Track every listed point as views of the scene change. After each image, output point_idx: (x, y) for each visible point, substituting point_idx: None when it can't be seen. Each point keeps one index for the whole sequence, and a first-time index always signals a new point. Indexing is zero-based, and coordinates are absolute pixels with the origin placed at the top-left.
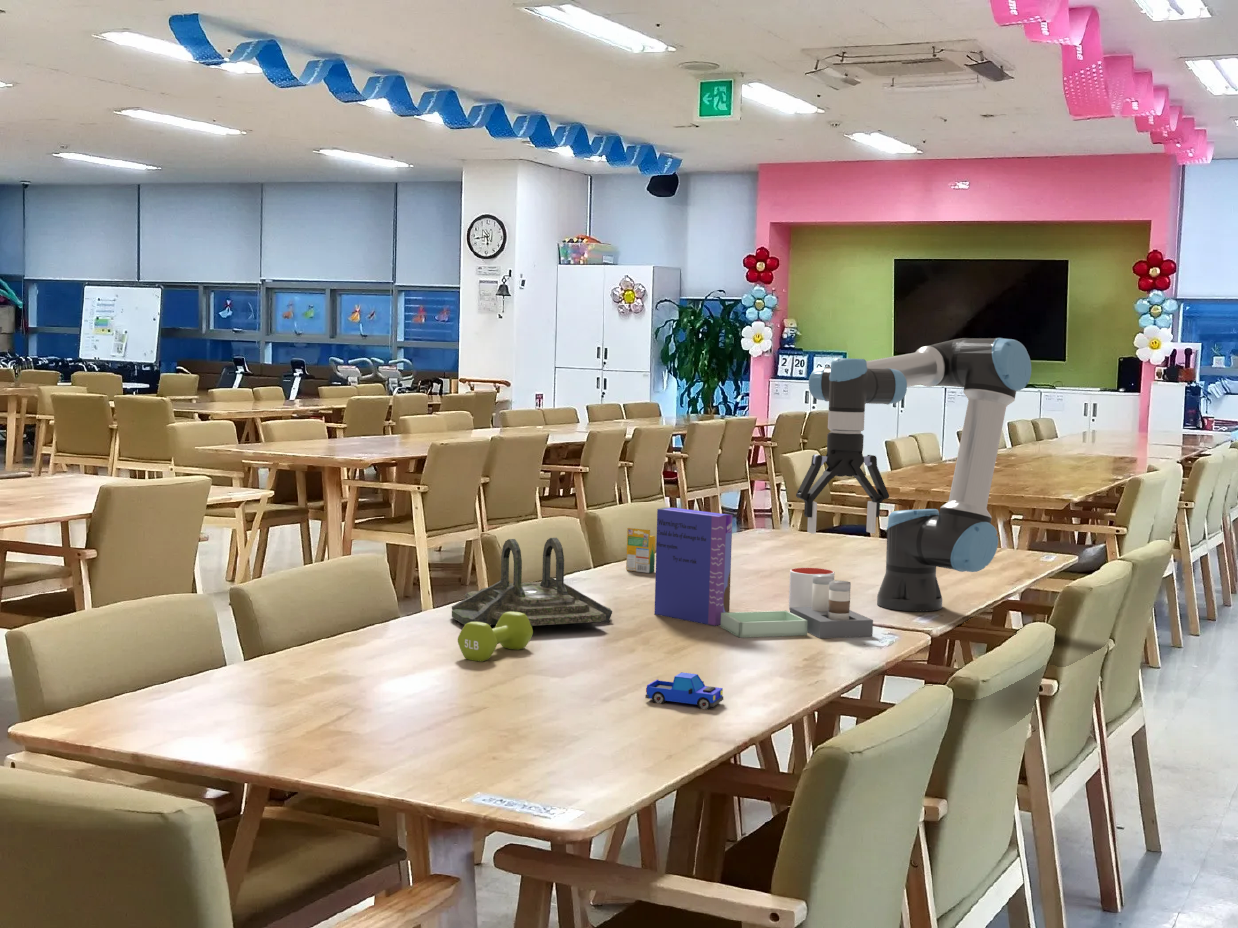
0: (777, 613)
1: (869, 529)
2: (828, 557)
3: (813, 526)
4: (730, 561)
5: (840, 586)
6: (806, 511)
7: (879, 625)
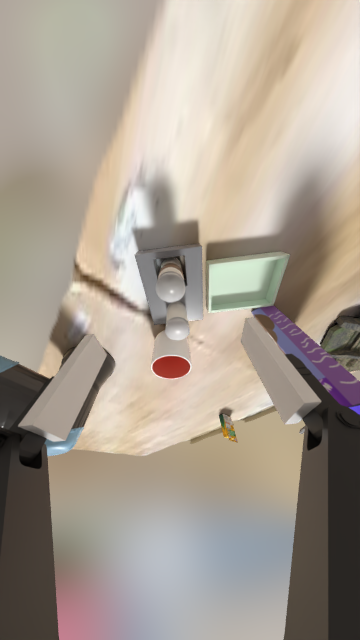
0: (218, 308)
1: (97, 349)
2: (126, 434)
3: (262, 329)
4: (284, 350)
5: (174, 273)
6: (306, 371)
7: (122, 302)
